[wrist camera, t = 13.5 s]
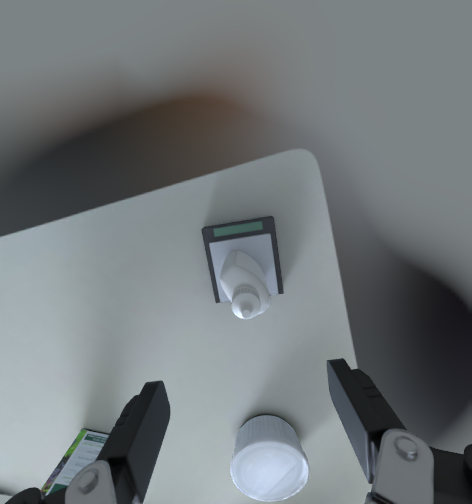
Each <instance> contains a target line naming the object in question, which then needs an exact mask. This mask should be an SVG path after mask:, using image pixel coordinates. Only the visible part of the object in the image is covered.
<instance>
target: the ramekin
mask: <svg viewBox="0 0 472 504" xmlns="http://www.w3.org/2000/svg"><path fill="white" fill-rule="evenodd" d="M230 472H231V477H232V480H233V482H234V483H235V485H236V486H237V488H238V489H239V490H240V491H242V492H243V493H244V494H246V495H247V496H249V497H252V498H254V499H257V500H262V501H279V500H283V499H286V498H289V497H291V496H293V495H295V494H296V493H298V492H299V491H300V490H301V489H302V488H303V487H304V485H305V484H306V482H307V480H308V478H309V464H308V460H307V457H306V455H305V453H304V451H303V450H302V447H301V445H300V442H299V440H298V437H297V434H296V433H295V431H294V429H293V428H292V427H291V426H290V425H289V424H288V423H287V422H286V421H284V420H283V419H281V418H278V417H276V416H270V415H262V416H257V417H254V418H252V419H250V420H249V421H247V422H246V423H245V424H244V425H243V426H242V427H241V429H240V430H239V432H238V434H237V437H236V443H235V448H234V453H233V455H232V458H231V466H230Z"/></svg>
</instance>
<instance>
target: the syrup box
mask: <svg viewBox="0 0 472 504" xmlns="http://www.w3.org/2000/svg"><path fill="white" fill-rule="evenodd" d="M108 436H109V435H106V434H102V433H97V432H92V431H87V430H84V429H83V430H81V432H80V433H79V435H78V436H77V438H76V439H75V441H74V442H73V443H72V445H71V446H70V448H69V449H68V451H67V452H66V454H65V455H64V457H63V458H62V460H61V461H60V463H59V464H58V466H57V467H56V468H55V470H54V471H53V473H52V474H51V476H50V477H49V479H48V480H47V482H46V483H45V484H44V486H43V487H42V489H41V490H40V491H41V493H42V496H43V497H44V496H46V495H48V494H50V493H53V492H55V491H57V490H60V489H62V488H64V487H67V486H68V485H69V483H70V482H71V480H72V479H73V478H74V476H75V475H76V474H77V473H78V472H79V471H80V470H81V469H82V468H84V467H85V466H87V465H88V464H90V463H92V462H94V461H95V460H96V458H97V456H98V455H99V453H100V451H101V449H102V447H103V445H104V444H105V442H106V440H107V438H108Z"/></svg>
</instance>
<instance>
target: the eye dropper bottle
mask: <svg viewBox="0 0 472 504" xmlns="http://www.w3.org/2000/svg"><path fill="white" fill-rule="evenodd" d="M220 283H221V286H222V288H223V290H224V292H225V294H226V295H227V297H228V298H229V299H230V301H231V302H232V310H233V312H234V314H235V315H236V316H238V317H239V318H242V319H250V318H253V317H254V316H256V315H259V314H261V313H263V312H264V311H265V310H266V309H267V308H268V307H269V306H270V304H271V297H270V293H269V289H268V285H267V282H266V278H265V275H264V273H263V271H262V269H261V268H260V266H259V265H258V263H257V262H256V261H255V260H254V259H253V258H251V257H250V256H249V255H247V254H246V253H244V252H241V251H239V250H234V251H232V252H231V253H230V254H229V255H228V256H227V257H226V258H225V260H224V263H223V266H222V270H221V273H220Z"/></svg>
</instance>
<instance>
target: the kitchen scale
mask: <svg viewBox="0 0 472 504" xmlns="http://www.w3.org/2000/svg"><path fill="white" fill-rule="evenodd" d="M202 234H203V239H204V244H205V250H206V255H207V260H208V265H209V270H210V275H211V280H212V285H213V290H214V296H215V301H216V303H220V302H221V303H222V302H229V301H230V299H229V298H228V297H227V295H226V294H225V292H224V290H223V288H222V286H221V283H220V273H221V270H222V266H223V263H224V260H225V258H226V257H227V256H228V255H229V254H230V253H231V252H232V251H234V250H239V251H241V252H244V253H246V254H247V255H249V256H250V257H251V258H253V259H254V260H255V261H256V262H257V263H258V265H259V266H260V268H261V269H262V271H263V273H264V275H265V278H266V282H267V285H268V289H269V293H270V296H271V295H278V294H283V285H282V278H281V270H280V262H279V255H278V247H277V239H276V232H275V224H274V217H272V216H270V217H263V218H257V219H251V220H245V221H239V222H233V223H227V224H220V225H214V226H208V227H204V228H202Z"/></svg>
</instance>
